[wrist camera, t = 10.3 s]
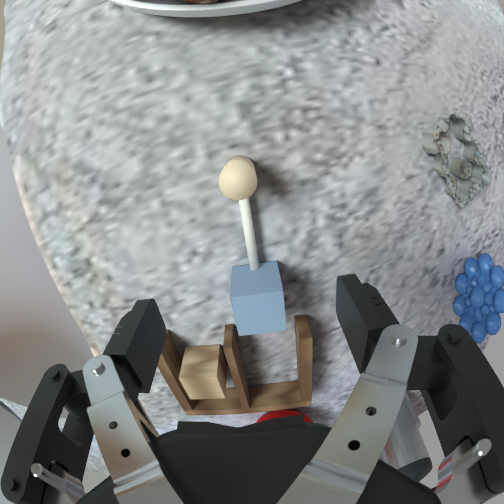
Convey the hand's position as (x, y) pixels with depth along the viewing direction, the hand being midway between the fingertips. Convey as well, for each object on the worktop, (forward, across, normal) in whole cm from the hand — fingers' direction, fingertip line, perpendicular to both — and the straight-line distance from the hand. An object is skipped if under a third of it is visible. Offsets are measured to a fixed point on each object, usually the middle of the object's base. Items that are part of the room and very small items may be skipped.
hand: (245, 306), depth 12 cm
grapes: (+18, -31, +15) cm, 39 cm away
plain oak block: (+18, +9, +22) cm, 30 cm away
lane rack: (+18, +5, +23) cm, 30 cm away
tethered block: (+18, 0, +4) cm, 18 cm away
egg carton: (+18, -26, -3) cm, 32 cm away
